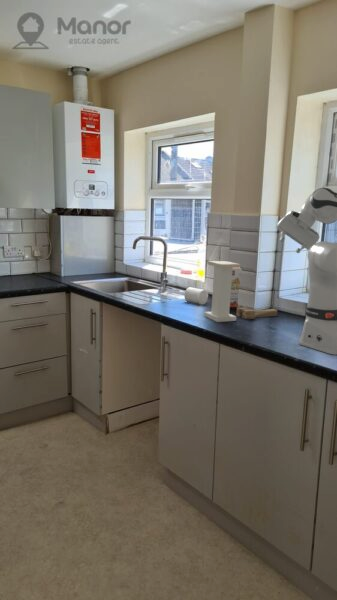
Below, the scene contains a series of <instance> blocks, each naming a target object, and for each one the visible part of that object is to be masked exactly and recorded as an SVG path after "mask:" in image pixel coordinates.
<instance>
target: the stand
mask: <svg viewBox="0 0 337 600" xmlns="http://www.w3.org/2000/svg"><path fill="white" fill-rule="evenodd" d="M207 265H209V266H212V267H213V281H212V282H213V283H212V294H211V295H212V297H211V311H204V313H203V317H205V318H207V319H210V320H211V321H214V322H216V323H221V322H234V321H235V322H236V321H237V316H236V315H234V314H232V313H230V309H231V307H230V296H231V283H232V269H233V268H240V267H241V264H240V263H237V262H233V261H227V260H208V261H207Z"/></svg>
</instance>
